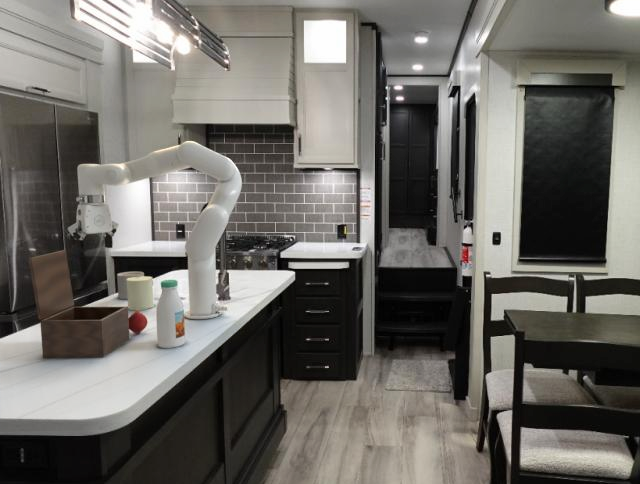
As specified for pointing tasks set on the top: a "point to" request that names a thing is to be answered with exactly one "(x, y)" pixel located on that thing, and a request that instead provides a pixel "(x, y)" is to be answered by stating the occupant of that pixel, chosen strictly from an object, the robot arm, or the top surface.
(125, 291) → the coffee mug
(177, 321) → the milk bottle
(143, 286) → the can
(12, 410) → the top surface
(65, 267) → the bin lid
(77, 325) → the bin
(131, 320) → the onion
